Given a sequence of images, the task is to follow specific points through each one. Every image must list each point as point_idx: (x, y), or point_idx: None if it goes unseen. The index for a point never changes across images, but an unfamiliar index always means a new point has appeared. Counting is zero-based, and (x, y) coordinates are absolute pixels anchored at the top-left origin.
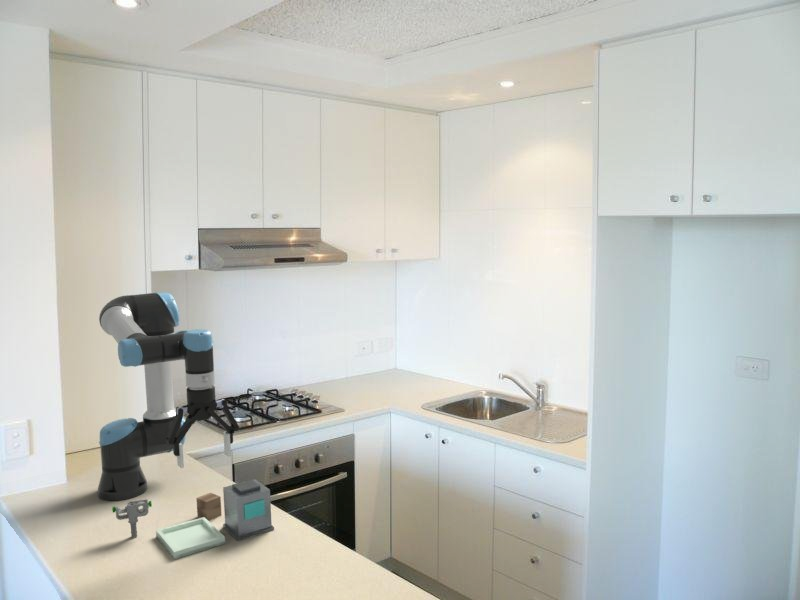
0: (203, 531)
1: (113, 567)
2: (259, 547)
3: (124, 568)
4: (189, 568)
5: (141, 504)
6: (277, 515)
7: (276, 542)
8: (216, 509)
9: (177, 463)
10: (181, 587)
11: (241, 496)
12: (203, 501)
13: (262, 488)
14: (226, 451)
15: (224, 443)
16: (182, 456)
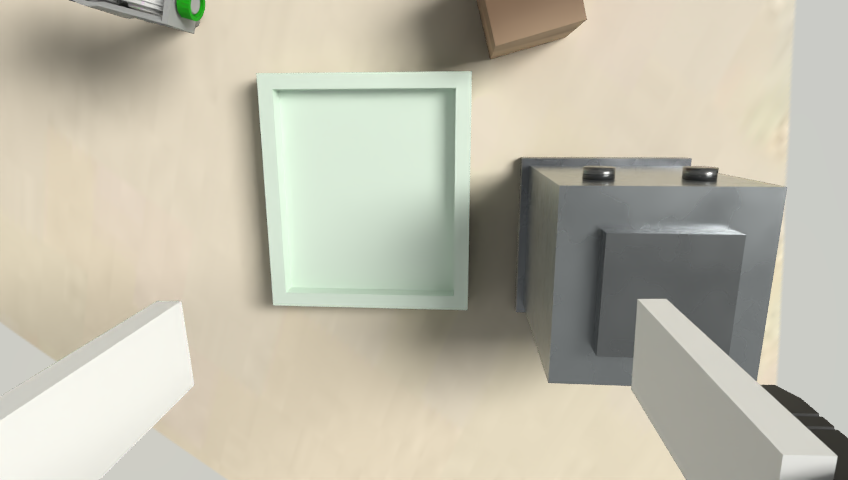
0: (430, 175)
1: (95, 222)
2: (553, 398)
3: (127, 252)
4: (307, 382)
5: (135, 15)
6: None
7: (619, 403)
8: (546, 38)
9: (145, 309)
10: (257, 467)
11: (581, 374)
12: (489, 19)
13: (732, 349)
14: (648, 370)
15: (686, 367)
16: (120, 450)
